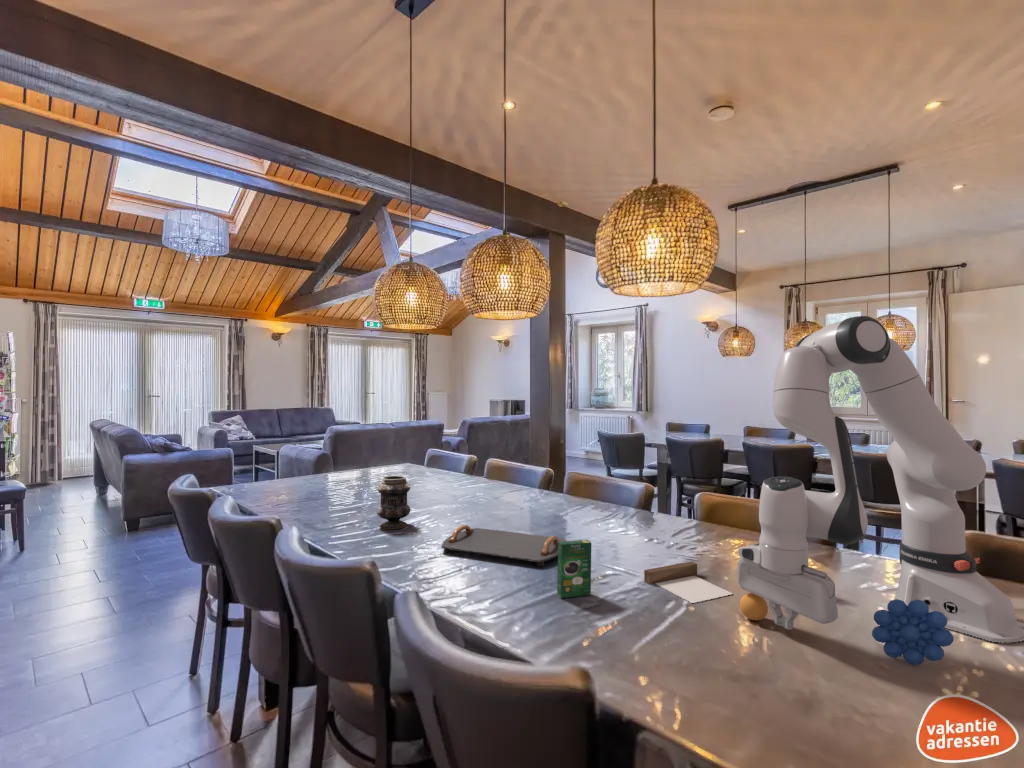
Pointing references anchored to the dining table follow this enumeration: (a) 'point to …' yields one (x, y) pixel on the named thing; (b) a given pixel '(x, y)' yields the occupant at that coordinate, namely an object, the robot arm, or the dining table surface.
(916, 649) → the blue bumpy cluster
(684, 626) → the dining table surface
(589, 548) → the coffee box
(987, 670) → the dining table surface
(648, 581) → the stop rail
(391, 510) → the apothecary jar
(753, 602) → the ball
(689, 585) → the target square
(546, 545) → the serving board
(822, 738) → the dining table surface
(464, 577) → the dining table surface
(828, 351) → the robot arm
